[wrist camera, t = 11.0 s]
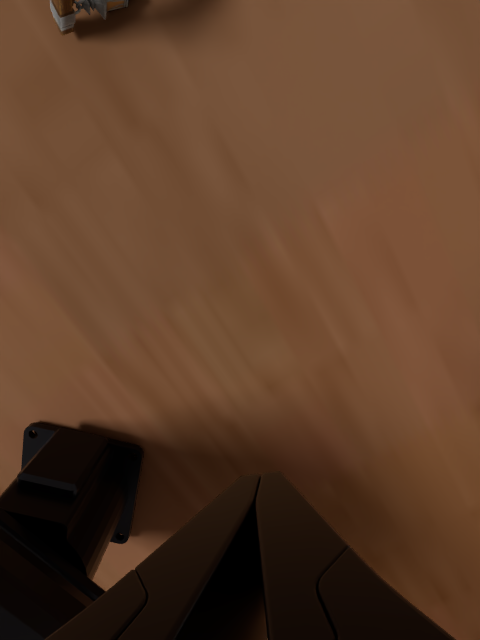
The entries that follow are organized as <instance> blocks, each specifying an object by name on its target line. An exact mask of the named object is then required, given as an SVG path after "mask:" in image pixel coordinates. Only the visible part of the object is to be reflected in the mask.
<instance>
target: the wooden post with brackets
mask: <svg viewBox="0 0 480 640" xmlns="http://www.w3.org/2000/svg"><path fill="white" fill-rule="evenodd" d="M128 1H129V0H80V1H78V2H77V1H75V0H50V7H51V11H52V13H53V16H54V22H55V24H56V25H57V27H58V29H59V31H60V33H61V35H62V36H63V35H65V34H68V33H71V32H73V31H74V29H73V27H74V23H75V14H78V13H79V12H80V10H81V9H83V8H84V9H85V10H86V11H87V13H88V14H89V15H90V7H91V8H92V10H93V11H94V8H95V9H96V10H97V11H98V12H99V13H100V14H101V15H102V17H103V19H104V20H105V19H106V12H108V11H111V10H115V9H118V8H124V7H128ZM74 3H76V7H77V8H78V11H76V12H75V11H74V9H73V8H72V6H73V4H74ZM80 4H82V6H80Z"/></svg>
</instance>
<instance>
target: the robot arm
mask: <svg viewBox="0 0 480 640" xmlns="http://www.w3.org/2000/svg"><path fill="white" fill-rule="evenodd" d="M32 430H34V431H36V432H37V434H38V435H36V434H34V433H33V431H32ZM131 453H135V454H136V455H137V457H134V456H132V455H131ZM143 457H144V451H143V449H142V448H141V447H140V446H138V445H135V444H130V443H126V442H121V441H117V440H112V439H108V438H105V437H102V436H98V435H93V434H89V433H84V432H80V431H75V430H71V429H66V428H59V427H54V426H50V425H45V424H41V423H31V424H30V425H29V426H28V427H27V428H26V429H25V431H24V439H23V453H22V467H21V471H20V472H19V474H18V476H17V477H16V479H15V480H14V481H13V482H12V483H11V484H10V485H9V487H8V488H7V489H6V490H5V491H4V492H3V493H2V495H1V496H0V640H267V638H268V640H456V639H454V638H453V637H452V636H451V635H450V634H448V633H447V632H446V631H445V630H443V629H442V628H441V627H440V626H438V625H437V624H436V623H435V622H434V621H432V620H431V619H430V618H429V617H427V616H426V615H425V614H424V613H422V612H421V611H420V610H419V609H417V608H416V607H415V606H414V605H413V604H411V603H410V602H409V601H408V600H406V599H405V598H404V597H403V596H402V595H401V594H399V593H398V592H397V591H396V590H395V589H394V588H392V587H391V586H390V585H389V584H388V583H387V582H385V581H384V580H383V579H382V578H381V577H380V576H379V575H378V574H377V573H376V572H375V571H374V570H373V569H372V568H371V567H370V566H369V565H368V564H367V563H366V562H365V561H364V560H363V559H362V558H361V557H360V556H359V555H358V554H357V552H356V551H355V550H354V549H353V548H351V547H350V546H349V545H348V544H347V543H346V541H345V540H344V539H343V538H342V537H341V536H340V535H339V534H338V533H337V532H336V531H335V530H334V528H333V527H332V526H331V525H330V524H329V523H328V522H327V521H326V520H325V519H324V518H323V517H322V515H321V514H320V513H319V512H318V511H317V510H316V509H315V508H314V507H313V506H312V505H311V504H310V502H309V501H308V500H307V499H306V498H305V497H304V496H303V495H302V494H301V493H300V492H299V491H298V489H297V488H296V487H295V486H294V485H293V484H292V483H291V482H290V481H289V480H288V479H287V478H286V476H285V475H284V474H283V473H282V472H280V471H276V472H268V473H263V474H262V475H261V476H260V475H259V474H252V475H244V476H241V477H240V478H238V479H237V480H236V481H235V482H234V483H233V484H231V485H230V486H229V487H228V488H227V489H226V490H225V491H223V492H222V493H221V494H220V495H219V496H218V497H216V498H215V499H214V500H213V501H212V502H211V503H210V504H208V505H207V506H206V507H205V508H204V509H203V510H201V511H200V512H199V513H198V514H197V515H196V516H195V517H193V518H192V519H191V520H190V521H189V522H188V523H186V524H185V525H184V526H183V527H182V528H181V529H180V530H178V531H177V532H176V533H175V534H174V535H173V536H171V537H170V538H169V539H168V540H167V541H166V542H165V543H163V544H162V545H161V546H160V547H159V548H158V549H156V550H155V551H154V552H153V553H152V554H151V555H149V556H148V557H147V558H146V559H145V560H144V561H143V562H141V563H140V564H139V565H138V566H137V567H136V568H135V570H131V571H130V572H129V573H128V574H126V575H125V576H124V577H123V578H122V579H121V580H119V581H118V582H117V583H116V584H115V585H114V586H112V587H111V588H110V589H109V590H108V591H105V590H103V589H102V588H101V587H100V586H98V585H97V584H96V583H95V582H93V581H92V580H93V577H94V575H95V573H96V571H97V569H98V566H99V564H100V562H101V560H102V557H103V555H104V553H105V551H106V549H107V546H108V544H109V542H114V543H118V544H123V543H126V542H127V540H128V538H129V536H130V533H131V527H132V521H133V515H134V509H135V504H136V498H137V492H138V486H139V480H140V474H141V468H142V463H143ZM119 533H121V534H123V535H120V534H119Z"/></svg>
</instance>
